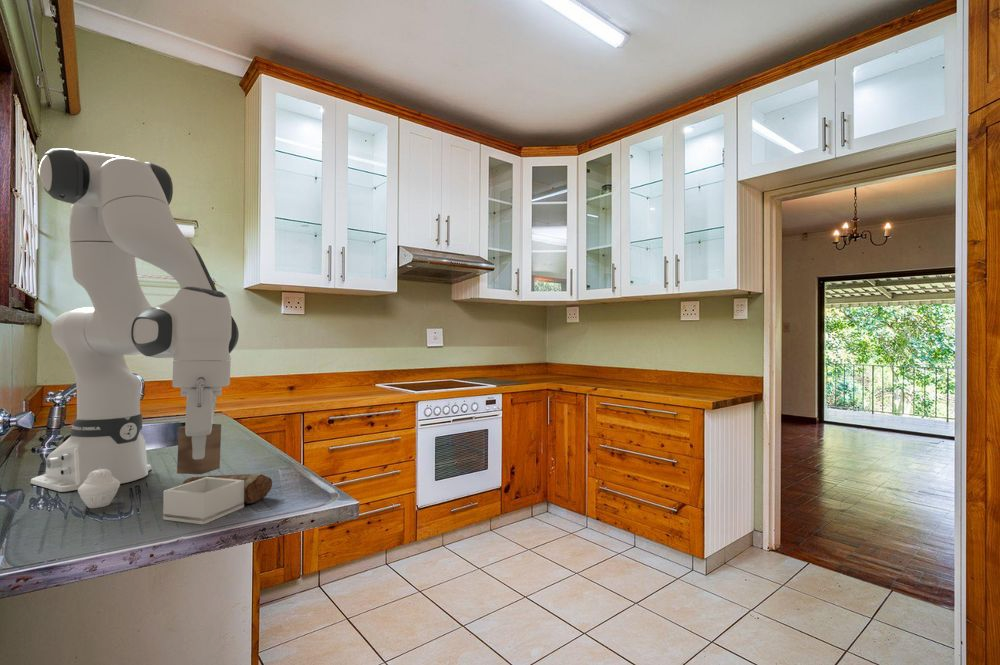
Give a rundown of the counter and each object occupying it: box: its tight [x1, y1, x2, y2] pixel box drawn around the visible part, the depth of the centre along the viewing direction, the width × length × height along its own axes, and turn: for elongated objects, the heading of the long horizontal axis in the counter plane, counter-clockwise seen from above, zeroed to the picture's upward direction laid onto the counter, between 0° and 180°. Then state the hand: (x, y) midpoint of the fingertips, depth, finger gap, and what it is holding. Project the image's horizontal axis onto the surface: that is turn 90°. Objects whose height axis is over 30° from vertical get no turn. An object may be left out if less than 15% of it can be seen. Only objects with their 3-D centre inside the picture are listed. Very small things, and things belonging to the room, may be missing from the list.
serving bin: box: [162, 477, 245, 525], centre depth 87 cm, size 9×9×5 cm
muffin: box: [77, 468, 121, 509], centre depth 91 cm, size 6×6×7 cm
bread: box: [181, 473, 273, 505], centre depth 95 cm, size 6×19×6 cm, turn 73°
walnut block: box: [176, 423, 222, 475], centre depth 86 cm, size 5×5×8 cm
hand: (199, 454), depth 86 cm, fingers closed on walnut block, 6 cm apart
